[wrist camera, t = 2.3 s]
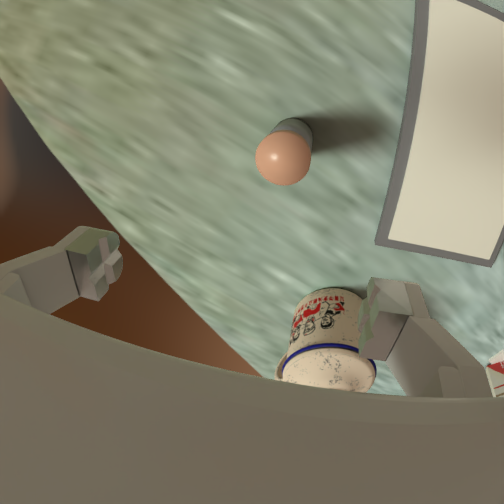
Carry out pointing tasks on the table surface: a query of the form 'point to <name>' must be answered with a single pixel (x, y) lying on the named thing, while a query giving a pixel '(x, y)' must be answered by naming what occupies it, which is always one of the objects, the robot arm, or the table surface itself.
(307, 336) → the teacup with lid
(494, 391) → the cigarette display
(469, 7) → the whiteboard
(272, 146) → the cylinder
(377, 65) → the table surface
